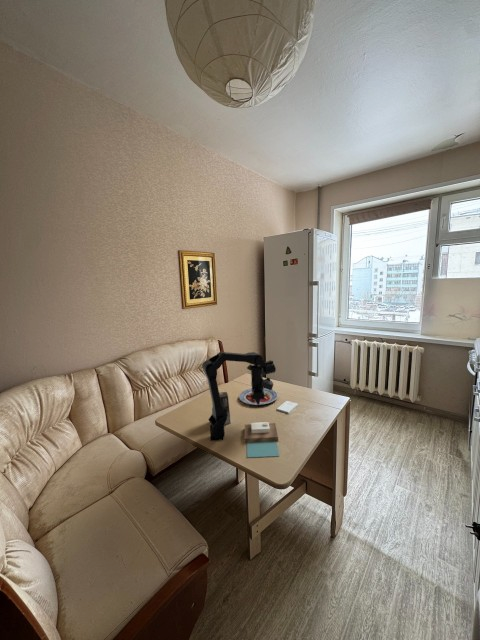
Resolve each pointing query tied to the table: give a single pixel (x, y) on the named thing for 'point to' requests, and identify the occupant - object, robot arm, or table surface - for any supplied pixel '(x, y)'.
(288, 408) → the external hard drive
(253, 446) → the mat
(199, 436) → the table surface
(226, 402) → the coffee box
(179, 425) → the table surface
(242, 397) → the ceramic plate
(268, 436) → the brown flat block
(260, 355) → the robot arm
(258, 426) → the white panel with tab
